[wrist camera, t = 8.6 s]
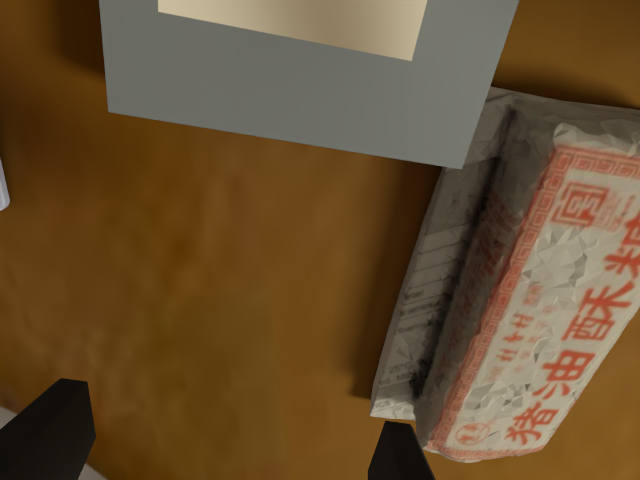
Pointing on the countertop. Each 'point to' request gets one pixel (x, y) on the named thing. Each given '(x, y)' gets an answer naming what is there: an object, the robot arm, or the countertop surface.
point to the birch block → (318, 20)
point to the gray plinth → (310, 80)
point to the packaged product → (516, 278)
